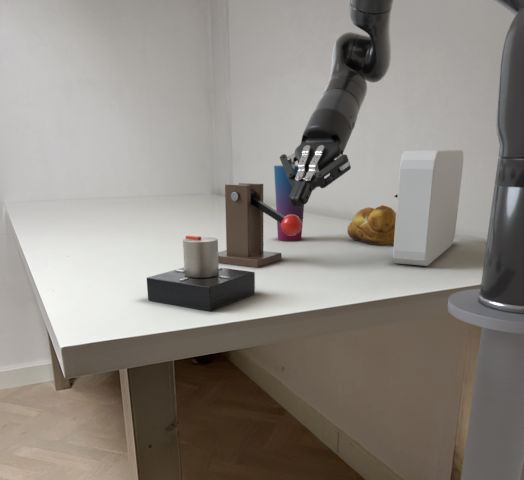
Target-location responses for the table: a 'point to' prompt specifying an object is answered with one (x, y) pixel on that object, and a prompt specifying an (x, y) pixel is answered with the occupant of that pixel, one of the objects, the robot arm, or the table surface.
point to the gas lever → (279, 216)
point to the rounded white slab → (426, 205)
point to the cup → (286, 201)
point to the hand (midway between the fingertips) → (296, 203)
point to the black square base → (201, 288)
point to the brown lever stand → (245, 228)
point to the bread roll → (373, 226)
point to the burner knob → (200, 256)
